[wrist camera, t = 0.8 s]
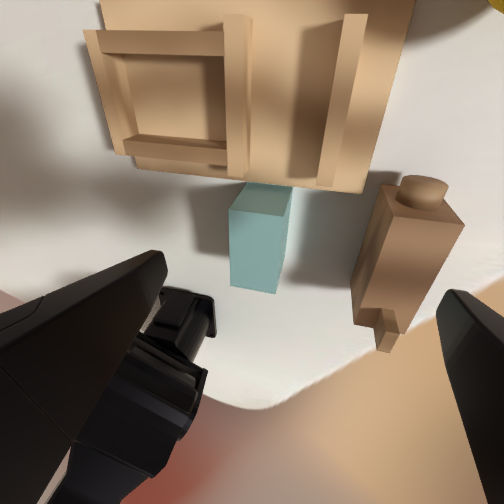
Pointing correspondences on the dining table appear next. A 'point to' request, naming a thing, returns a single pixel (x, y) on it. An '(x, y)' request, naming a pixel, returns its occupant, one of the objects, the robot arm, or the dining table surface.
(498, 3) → the lemon
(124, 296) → the robot arm
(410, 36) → the dining table surface
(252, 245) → the teal block
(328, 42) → the jig
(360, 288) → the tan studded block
